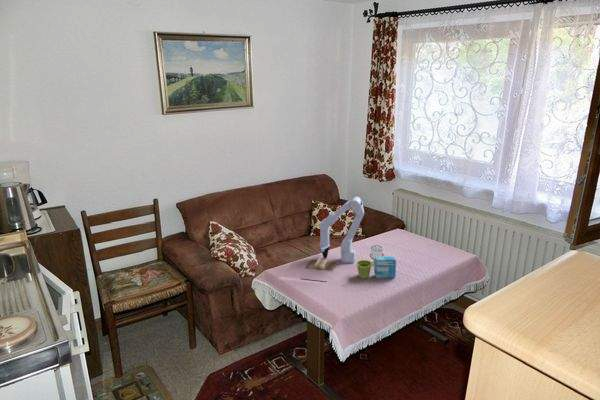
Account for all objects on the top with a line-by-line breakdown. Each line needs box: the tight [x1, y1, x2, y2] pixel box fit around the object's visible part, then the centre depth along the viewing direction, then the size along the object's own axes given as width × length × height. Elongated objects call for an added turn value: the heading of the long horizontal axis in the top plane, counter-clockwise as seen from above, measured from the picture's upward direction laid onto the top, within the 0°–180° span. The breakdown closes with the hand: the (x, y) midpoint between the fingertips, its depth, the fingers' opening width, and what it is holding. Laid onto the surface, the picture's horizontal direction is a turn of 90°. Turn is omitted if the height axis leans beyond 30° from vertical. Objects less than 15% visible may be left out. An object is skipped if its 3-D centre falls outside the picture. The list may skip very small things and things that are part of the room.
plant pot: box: [355, 259, 373, 279], centre depth 248 cm, size 9×9×9 cm
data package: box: [373, 256, 397, 279], centre depth 247 cm, size 12×4×12 cm, turn 89°
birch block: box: [315, 258, 329, 269], centre depth 262 cm, size 6×10×2 cm, turn 163°
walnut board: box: [304, 259, 338, 272], centre depth 263 cm, size 18×13×2 cm
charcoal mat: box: [301, 278, 328, 283], centre depth 251 cm, size 16×12×1 cm
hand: (325, 257), depth 272 cm, fingers closed
